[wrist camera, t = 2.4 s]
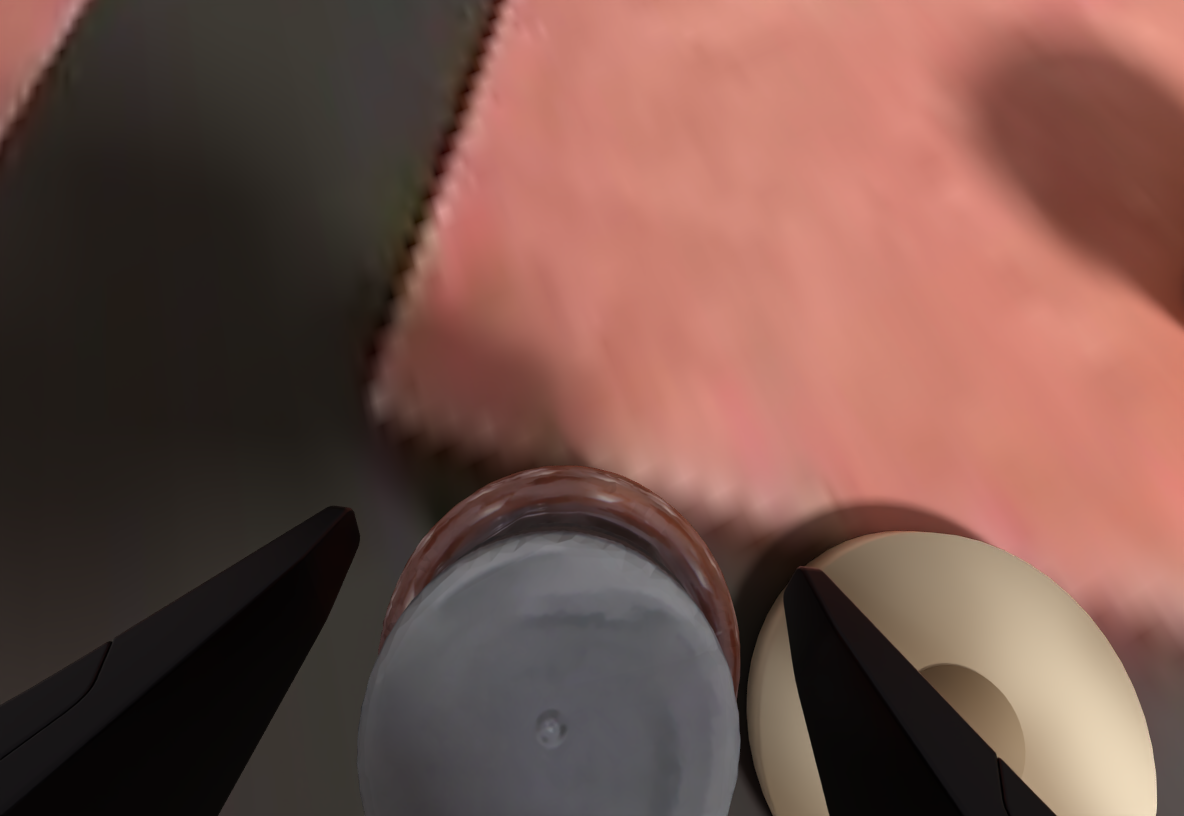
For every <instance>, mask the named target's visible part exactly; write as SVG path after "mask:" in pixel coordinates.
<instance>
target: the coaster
mask: <svg viewBox="0 0 1184 816" xmlns="http://www.w3.org/2000/svg"><path fill="white" fill-rule="evenodd" d="M806 567H813V568H818V569H821V570H822V571H823V572H824V573H825V574H826V575H827V576H828V577H829V578H830V579H831V580H832V581H833V582H834V583H835V584H836V585H837V586H838V587H839V588H840V589H841V590H842V591H843V593H844V594H845V595H846V596H847V597H848V598H849V599H850V600H851V601H852V602H853V603H854V604H855V605H856V606H857V607H858V608H859V609H860V610H861V611H862V613H863V614H864V615H865V616H866V617H867V618H868V619H869V620H870V621H871V622H872V623H873V624H874V625H875V626H876V627H877V628H878V629H879V630H880V631H881V632H882V634H883V635H884V636H885V637H886V638H887V639H888V640H889V641H890V642H891V643H892V644H893V645H894V646H895V647H896V648H897V649H898V650H899V651H900V652H901V653H902V655H903V656H904V657H905V658H906V659H907V660H908V661H909V662H910V663H911V664H912V665H913V666H914V667H915V668H916V669H917V670H918V671H919V672H920V673H921V674H922V676H923V677H924V678H925V679H926V680H927V681H928V682H929V683H930V684H931V685H932V686H933V687H934V688H935V689H936V690H937V691H938V692H939V693H940V694H941V695H942V697H943V698H944V699H945V700H946V701H947V702H948V703H949V704H950V705H951V706H952V707H953V708H954V709H955V710H956V711H957V712H958V713H959V714H960V715H961V716H962V718H963V719H964V720H965V721H966V722H967V723H968V724H969V725H970V726H971V727H972V728H973V729H974V730H975V731H976V732H977V733H978V734H979V735H980V736H981V737H982V739H983V740H984V741H985V742H986V743H987V744H988V745H989V746H990V747H991V748H992V749H993V750H994V751H995V752H996V754H997V757H999V758H1001V759H1003V760H1004V761H1005V762H1006V764H1007V765H1008V766H1009V767H1010V768H1011V769H1012V770H1013V771H1014V772H1015V773H1016V774H1017V775H1018V776H1019V777H1020V778H1021V779H1022V780H1023V781H1024V782H1025V783H1026V784H1027V785H1028V787H1029V788H1030V789H1031V790H1032V791H1033V792H1034V793H1035V794H1036V795H1037V796H1038V797H1039V798H1040V799H1041V800H1042V801H1043V802H1044V803H1045V804H1046V805H1047V806H1048V807H1049V808H1050V809H1051V810H1052V811H1053V812H1054V813H1055V814H1056V815H1057V816H1156V809H1157V792H1156V771H1155V764H1154V757H1153V750H1152V744H1151V740H1150V736H1149V732H1148V728H1147V724H1146V720H1145V717H1144V714H1143V711H1142V708H1141V706H1140V703H1139V700H1138V698H1137V695H1136V692H1135V689H1134V687H1133V685H1132V683H1131V681H1130V679H1129V677H1128V675H1127V673H1126V671H1125V669H1124V667H1123V665H1122V663H1121V661H1120V659H1119V658H1118V656H1117V655H1116V653H1115V651H1114V650H1113V648H1112V646H1111V645H1110V643H1109V642H1108V640H1107V638H1106V637H1105V636H1104V634H1103V633H1102V632H1101V630H1100V629H1099V628H1098V627H1097V625H1096V624H1095V623H1094V621H1093V620H1092V619H1091V618H1090V616H1089V615H1088V614H1087V613H1086V612H1085V611H1084V610H1083V609H1082V608H1081V607H1080V605H1079V604H1078V603H1077V602H1076V601H1075V600H1074V599H1073V598H1072V597H1071V596H1070V595H1069V594H1068V593H1067V592H1065V591H1064V590H1063V589H1062V588H1061V587H1060V586H1058V585H1057V584H1056V583H1055V582H1054V581H1053V580H1051V579H1050V578H1049V577H1048V576H1046V575H1045V574H1043V573H1042V572H1040V571H1039V570H1037V569H1036V568H1035V567H1033V566H1032V565H1030V564H1029V563H1027V562H1025V561H1023V560H1022V559H1020V558H1018V557H1016V556H1014V555H1012V554H1010V553H1008V552H1006V551H1005V550H1002V549H1000V548H997V547H994V546H992V545H989V544H987V543H984V542H981V541H978V540H974V539H970V538H966V537H962V536H958V535H949V534H941V533H931V532H917V531H886V532H879V533H873V534H867V535H863V536H860V537H857V538H854V539H851V540H848V541H845V542H843V543H841V544H839V545H837V546H835V547H833V548H830V549H828V550H826V551H825V552H824V553H822V554H821V555H819V556H818V557H816V558H815V559H813V560H812V561H810V562H809V563H808V564H807V565H806ZM787 585H788V584H787ZM787 585H786V586H787ZM785 588H786V587H785ZM785 588H784V589H783V590H782V592H781V593H780V594H779V596H778V597H777V599H776V601H775V602H774V604H773V606H772V607H771V609H770V611H769V612H768V614H767V616H766V619H765V621H764V623H763V626H762V628H761V630H760V632H759V635H758V638H757V641H756V645H755V648H754V652H753V655H752V659H751V664H750V671H749V677H748V684H747V710H746V712H747V724H748V736H749V743H750V748H751V753H752V758H753V763H754V767H755V770H756V774H757V777H758V780H759V783H760V786H761V789H762V792H763V795H764V797H765V799H766V802H767V804H768V806H769V808H770V811H771V813H772V815H773V816H829V813H828V809H827V805H826V801H825V797H824V793H823V789H822V785H821V781H820V777H819V773H818V769H817V766H816V762H815V758H814V754H813V750H812V746H811V742H810V738H809V734H808V730H807V726H806V722H805V718H804V714H803V710H802V707H801V703H800V699H799V695H798V690H797V686H796V682H795V676H794V671H793V665H792V658H791V651H790V644H789V637H788V631H787V624H786V617H785V610H784V603H783V595H784V591H785Z"/></svg>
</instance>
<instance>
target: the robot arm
mask: <svg viewBox="0 0 1184 816" xmlns="http://www.w3.org/2000/svg"><path fill="white" fill-rule="evenodd" d="M359 542H360V533H359V530H358V526H357V522H356V518H355V514H354V511H353V510H352V509H351V508H347V507H340V506H330V507H327V508H325V509H324V510H322V511H320V512H319V513H317V514H316V515H314V516H312V517H311V518H309V519H307V520H306V521H304V522H303V523H301V524H299V525H298V526H296V527H294V528H293V529H291V530H289V531H288V532H286V533H285V534H283V535H281V536H280V537H278V538H276V539H275V540H273V541H272V542H270V543H268V544H267V545H265V546H263V547H262V548H260V549H258V550H257V551H255V552H254V553H252V554H250V555H249V556H247V557H245V558H244V559H242V560H241V561H239V562H237V563H236V564H234V565H232V566H231V567H229V568H227V569H226V570H224V571H223V572H221V573H219V574H218V575H216V576H214V577H213V578H211V579H210V580H208V581H206V582H205V583H203V584H201V585H200V586H198V587H196V588H195V589H193V590H192V591H190V592H188V593H187V594H185V595H183V596H182V597H180V598H179V599H177V600H175V601H174V602H172V603H170V604H169V605H167V606H165V607H164V608H162V609H161V610H159V611H157V612H156V613H154V614H152V615H151V616H149V617H148V618H146V619H144V620H143V621H141V622H139V623H138V624H136V625H135V626H133V627H131V628H130V629H128V630H126V631H125V632H123V633H121V634H120V635H118V636H117V637H115V638H114V640H113V642H112V641H109V642H106V643H105V644H103V645H102V646H100V647H98V648H97V649H95V650H93V651H92V652H90V653H89V654H87V655H85V656H84V657H82V658H80V659H79V660H77V661H75V662H74V663H72V664H70V665H69V666H67V667H65V668H64V669H62V670H60V671H59V672H57V673H55V674H54V675H52V676H50V677H48V678H47V679H45V680H43V681H42V682H40V683H38V684H37V685H35V686H33V687H32V688H30V689H28V690H26V691H25V692H23V693H21V694H19V695H17V696H16V697H14V698H12V699H10V700H9V701H7V702H5V703H3V704H1V705H0V816H218V815H219V813H220V811H221V809H222V808H223V806H224V804H225V802H226V800H227V799H228V797H229V795H230V793H231V791H232V790H233V788H234V786H235V784H236V782H237V781H238V779H239V777H240V775H241V773H242V772H243V770H244V768H245V766H246V764H247V763H248V761H249V759H250V757H251V755H252V754H253V752H254V750H255V748H256V746H257V745H258V743H259V741H260V739H261V737H262V736H263V734H264V732H265V730H266V728H267V727H268V725H269V723H270V721H271V719H272V718H273V716H274V714H275V712H276V710H277V709H278V707H279V705H280V703H281V701H282V700H283V698H284V696H285V694H286V692H287V691H288V689H289V687H290V685H291V683H292V682H293V680H294V678H295V676H296V674H297V673H298V671H299V669H300V667H301V665H302V664H303V662H304V660H305V658H306V656H307V655H308V653H309V651H310V649H311V647H312V646H313V644H314V642H315V640H316V638H317V637H318V635H319V633H320V631H321V629H322V627H323V626H324V624H325V622H326V620H327V618H328V616H329V613H330V611H331V609H332V607H333V605H334V602H335V600H336V598H337V595H338V593H339V591H340V588H341V586H342V584H343V581H344V579H345V577H346V574H347V572H348V570H349V567H350V565H351V563H352V560H353V558H354V556H355V553H356V551H357V549H358V546H359ZM783 603H784V610H785V617H786V624H787V631H788V637H789V644H790V651H791V658H792V665H793V671H794V676H795V682H796V686H797V690H798V695H799V699H800V703H801V707H802V710H803V714H804V718H805V722H806V726H807V730H808V734H809V738H810V742H811V746H812V750H813V754H814V758H815V762H816V766H817V769H818V773H819V777H820V781H821V785H822V789H823V793H824V797H825V801H826V805H827V809H828V813H829V816H1057V815H1056V814H1055V813H1054V812H1053V811H1052V810H1051V809H1050V808H1049V807H1048V806H1047V805H1046V804H1045V803H1044V802H1043V801H1042V800H1041V799H1040V798H1039V797H1038V796H1037V795H1036V794H1035V793H1034V792H1033V791H1032V790H1031V789H1030V788H1029V787H1028V785H1027V784H1026V783H1025V782H1024V781H1023V780H1022V779H1021V778H1020V777H1019V776H1018V775H1017V774H1016V773H1015V772H1014V771H1013V770H1012V769H1011V768H1010V767H1009V766H1008V765H1007V764H1006V762H1005V761H1004V760H1003V759H1001V758H999V757H997V754H996V752H995V751H994V750H993V749H992V748H991V747H990V746H989V745H988V744H987V743H986V742H985V741H984V740H983V739H982V737H981V736H980V735H979V734H978V733H977V732H976V731H975V730H974V729H973V728H972V727H971V726H970V725H969V724H968V723H967V722H966V721H965V720H964V719H963V718H962V716H961V715H960V714H959V713H958V712H957V711H956V710H955V709H954V708H953V707H952V706H951V705H950V704H949V703H948V702H947V701H946V700H945V699H944V698H943V697H942V695H941V694H940V693H939V692H938V691H937V690H936V689H935V688H934V687H933V686H932V685H931V684H930V683H929V682H928V681H927V680H926V679H925V678H924V677H923V676H922V674H921V673H920V672H919V671H918V670H917V669H916V668H915V667H914V666H913V665H912V664H911V663H910V662H909V661H908V660H907V659H906V658H905V657H904V656H903V655H902V653H901V652H900V651H899V650H898V649H897V648H896V647H895V646H894V645H893V644H892V643H891V642H890V641H889V640H888V639H887V638H886V637H885V636H884V635H883V634H882V632H881V631H880V630H879V629H878V628H877V627H876V626H875V625H874V624H873V623H872V622H871V621H870V620H869V619H868V618H867V617H866V616H865V615H864V614H863V613H862V611H861V610H860V609H859V608H858V607H857V606H856V605H855V604H854V603H853V602H852V601H851V600H850V599H849V598H848V597H847V596H846V595H845V594H844V593H843V591H842V590H841V589H840V588H839V587H838V586H837V585H836V584H835V583H834V582H833V581H832V580H831V579H830V578H829V577H828V576H827V575H826V574H825V573H824V572H823V571H822V570H821V569H818V568H813V567H806V566H800V567H798V568H797V569H796V570H795V572H794V574H793V575H792V577H791V579H790V581H789V583H788V585H787V586H786V588H785V591H784V595H783Z"/></svg>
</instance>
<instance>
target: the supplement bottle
mask: <svg viewBox="0 0 1184 816" xmlns="http://www.w3.org/2000/svg"><path fill="white" fill-rule="evenodd" d="M739 680H740V640H739V630H738V624H737V619H736V615H735V611H734V607H733V603H732V599H731V596H730V593H729V590H728V587H727V585H726V582H725V579H724V576H723V574H722V572H721V570H720V568H719V566H718V564H717V562H716V561H715V559H714V557H713V555H712V554H711V552H710V550H709V548H708V547H707V545H706V543H705V542H704V541H703V540H702V538H701V537H700V536H699V534H698V533H697V532H696V530H695V529H694V528H693V527H692V525H691V524H690V523H689V522H688V521H687V520H686V519H685V518H684V517H683V516H682V515H681V514H680V513H679V512H678V511H677V510H675V509H674V508H673V507H672V506H671V505H669V504H668V503H667V502H666V501H664V500H663V499H662V498H661V497H659V496H658V495H656V494H655V493H653V492H652V491H650V490H649V489H647V488H645V487H644V486H642V485H640V484H639V483H637V482H635V481H632V480H630V479H628V478H626V477H624V476H621V475H618V474H615V473H612V472H608V471H604V470H600V469H595V468H589V467H582V466H566V465H565V466H544V467H539V468H534V469H529V470H524V471H520V472H517V473H515V474H512V475H509V476H506V477H503V478H501V479H498V480H496V481H494V482H491V483H489V484H487V485H486V486H484V487H482V488H480V489H479V490H477V491H476V492H474V493H473V494H472V495H470V496H469V497H467V498H466V499H464V500H462V501H461V502H459V503H458V504H457V505H456V506H454V507H453V508H452V509H451V510H450V511H449V512H448V513H447V514H446V515H445V516H444V517H442V518H441V519H440V520H439V521H438V522H437V523H436V524H435V525H434V526H433V527H432V528H431V529H430V531H429V532H428V533H427V534H426V535H425V536H424V537H423V539H422V540H421V542H420V543H419V544H418V546H417V547H416V549H415V551H414V552H413V554H412V555H411V557H410V559H409V560H408V562H407V564H406V566H405V568H404V570H403V572H402V574H401V576H400V578H399V580H398V582H397V584H396V588H395V590H394V592H393V594H392V597H391V601H390V603H389V606H388V608H387V612H386V616H385V619H384V621H383V630H382V633H381V639H380V645H379V649H378V657H377V659H376V661H375V663H374V666H373V669H372V672H371V675H370V678H369V681H368V685H367V689H366V694H365V697H364V700H363V703H362V707H361V716H360V722H359V727H358V749H357V769H358V777H359V789H360V795H361V800H362V804H363V808H364V813H365V816H727V815H728V811H729V807H730V803H731V799H732V796H733V792H734V788H735V785H736V781H737V777H738V763H739V756H740V731H739V711H738V707H737V695H738V687H739Z"/></svg>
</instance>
